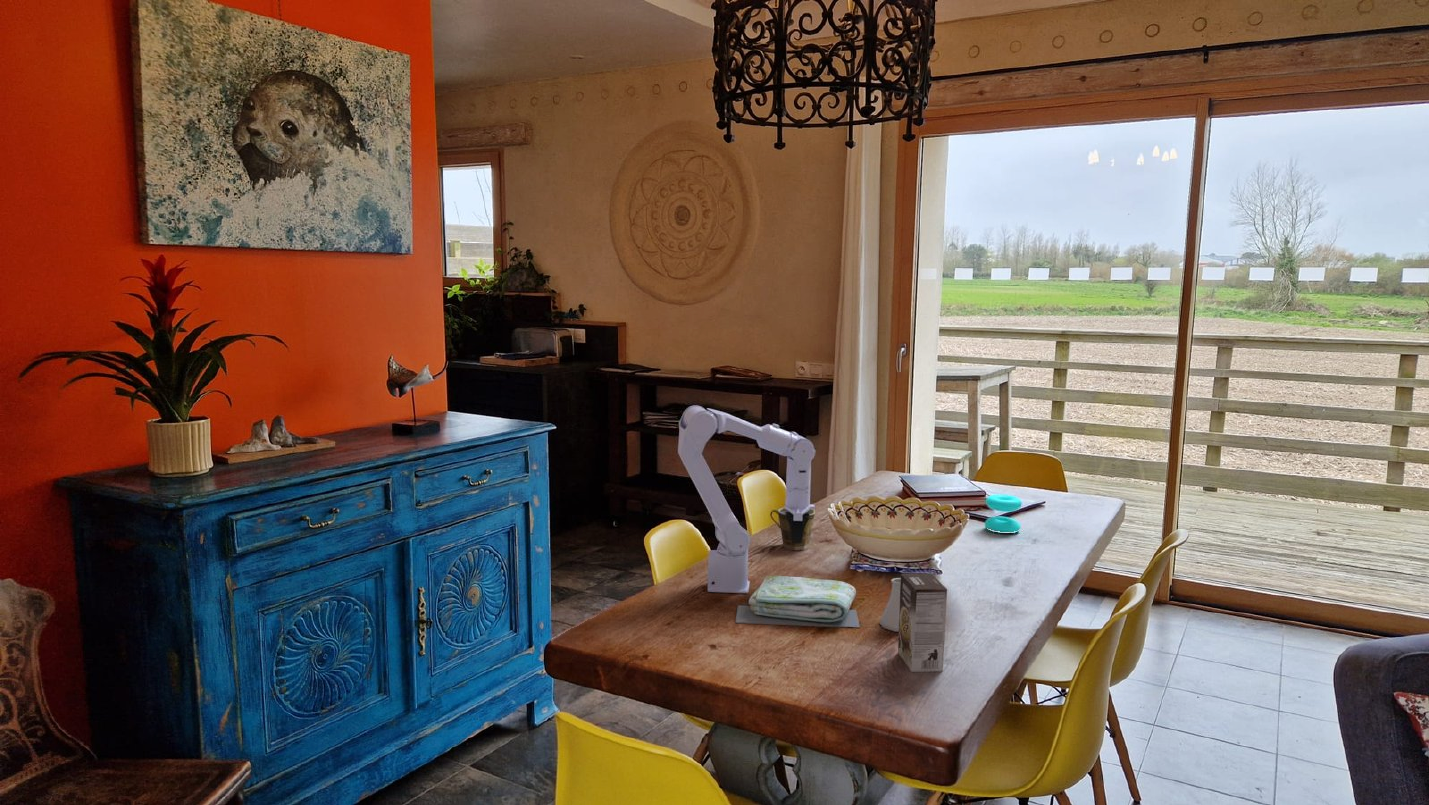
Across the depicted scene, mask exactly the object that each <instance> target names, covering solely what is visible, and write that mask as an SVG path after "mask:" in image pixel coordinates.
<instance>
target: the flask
mask: <svg viewBox="0 0 1429 805" xmlns="http://www.w3.org/2000/svg"><path fill="white" fill-rule="evenodd" d="M890 582H891V583H892V586H891V592H890V597H889V599H888V601H887V605H886V606H885V608H884V611H883V613H882V614H881V618H880V620H879V622H878V624H880V625H881V627H882V628H883V629H887V630H889V631H892V632H895V633H897V632H898V633H899V612H900V584H901V577H896V578H892V579H891V580H890Z"/></svg>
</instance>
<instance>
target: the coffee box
mask: <svg viewBox="0 0 1429 805" xmlns="http://www.w3.org/2000/svg"><path fill="white" fill-rule="evenodd" d="M900 578H901V584H900V612H899V631H898V641H897V642H898V644H897V648H898V649H897V653H898V655H899V656H900V658H901V659H902V660H903V662H904V663H905V665H906V667H907V668H908V669H909V671H910V672H912V673H919V672H920V673H921V672H924V673H926V672H927V673H928V672H929V673H930V672H943V670H944V651H945V650H944V649H945V637H946V635H945V634H946V620H947V619H946V617H947V599H948V589H947V588H946V586H945V585H944V584H942V583H941V582H940V581H939V580H938V579H937V578H936V576H935V575H934V574H933V573H916V572H915V573H914V572H911V573H900Z"/></svg>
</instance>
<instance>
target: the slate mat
mask: <svg viewBox="0 0 1429 805" xmlns="http://www.w3.org/2000/svg"><path fill="white" fill-rule="evenodd" d="M750 606H751V605H741V604H740V605H737V609H736V615H735V616H736V617H735V624H748V625H749V624H753V625H772V626H773V625H775V626H777V625H779V626H780V625H781V626H800V627H801V626H802V627H803V626H805V627H824V628H825V627H826V628H827V627H828V628H847V627H853V628H855V629H860V621H859V617H858V612H857V610H856V609H849V611H848V613H847V614H846V616H845V617H844V618H843V619H842V620H839V621H836V622H816V621H806V620H797V619H789V618H778V617H769V616H762V615H756V614H754V613H755V612H754V611H753V610H751V608H750Z"/></svg>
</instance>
